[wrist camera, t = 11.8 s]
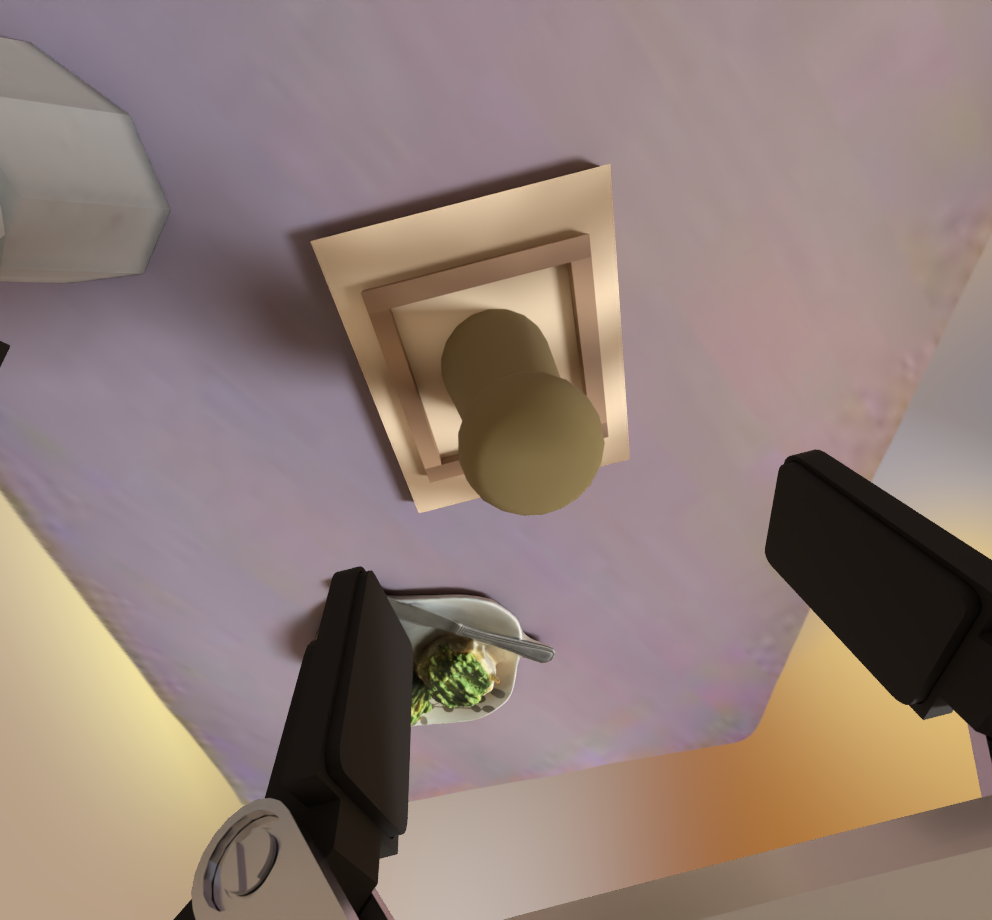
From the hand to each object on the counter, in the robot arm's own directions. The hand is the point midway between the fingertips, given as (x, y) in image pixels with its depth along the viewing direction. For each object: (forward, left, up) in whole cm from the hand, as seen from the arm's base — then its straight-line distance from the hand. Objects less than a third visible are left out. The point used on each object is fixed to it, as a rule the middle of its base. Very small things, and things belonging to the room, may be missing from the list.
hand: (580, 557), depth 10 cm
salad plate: (+24, -12, -17) cm, 32 cm away
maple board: (+1, 0, -17) cm, 17 cm away
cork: (0, 0, -16) cm, 16 cm away
